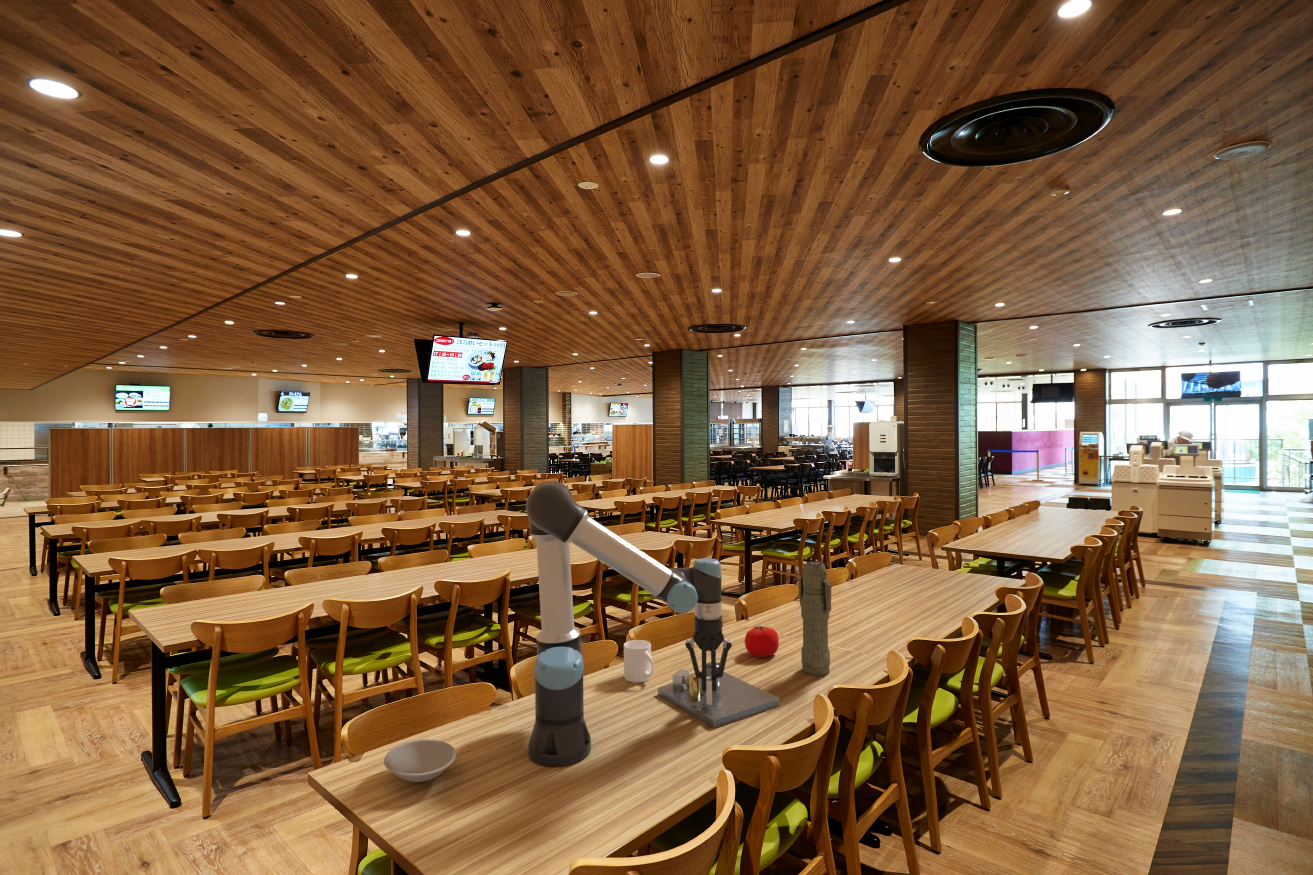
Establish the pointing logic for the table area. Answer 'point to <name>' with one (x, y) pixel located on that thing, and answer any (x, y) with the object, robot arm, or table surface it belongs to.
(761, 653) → the tomato
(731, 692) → the bench plate
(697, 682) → the lever
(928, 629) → the table surface
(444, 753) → the dish
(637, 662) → the mug
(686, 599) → the robot arm
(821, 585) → the thermos
